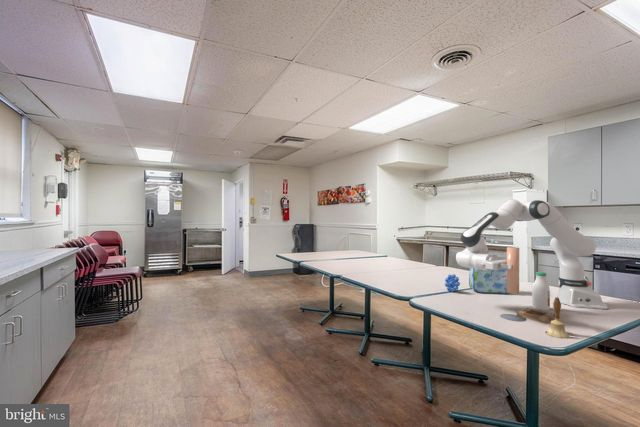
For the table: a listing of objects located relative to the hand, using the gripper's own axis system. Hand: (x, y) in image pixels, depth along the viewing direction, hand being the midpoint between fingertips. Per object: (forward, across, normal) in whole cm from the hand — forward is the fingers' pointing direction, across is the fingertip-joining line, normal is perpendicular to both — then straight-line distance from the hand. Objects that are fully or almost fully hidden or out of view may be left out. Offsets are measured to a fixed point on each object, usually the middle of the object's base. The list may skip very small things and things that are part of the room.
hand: (515, 266), depth 149 cm
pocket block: (+5, +10, +26) cm, 29 cm away
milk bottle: (0, +30, +26) cm, 40 cm away
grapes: (-48, +25, +27) cm, 60 cm away
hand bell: (+19, -4, +26) cm, 33 cm away
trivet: (-1, 0, +26) cm, 26 cm away
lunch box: (-33, +45, +27) cm, 62 cm away
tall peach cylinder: (-1, 0, +13) cm, 13 cm away
